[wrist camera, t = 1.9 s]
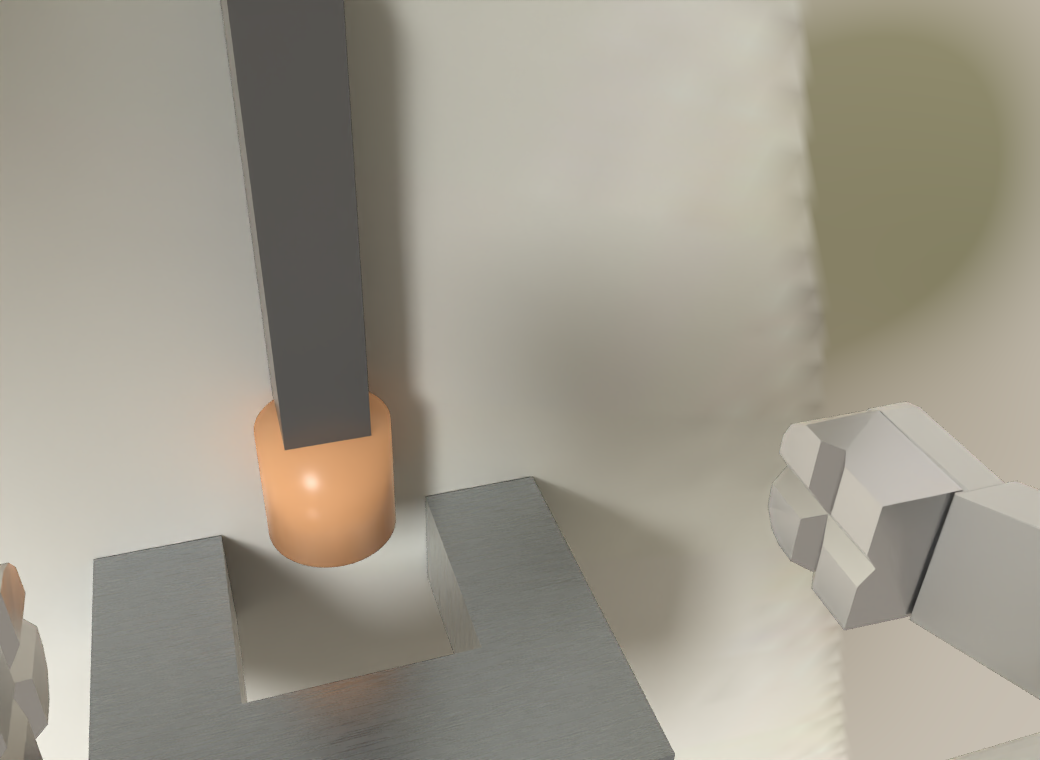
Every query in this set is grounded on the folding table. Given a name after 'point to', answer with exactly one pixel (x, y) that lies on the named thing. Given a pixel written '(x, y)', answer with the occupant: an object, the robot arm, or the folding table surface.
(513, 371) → the folding table surface
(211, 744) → the grey notched block
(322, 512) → the plug
